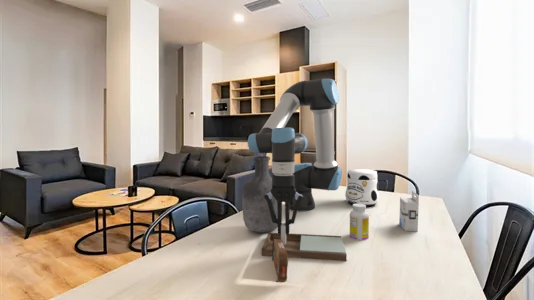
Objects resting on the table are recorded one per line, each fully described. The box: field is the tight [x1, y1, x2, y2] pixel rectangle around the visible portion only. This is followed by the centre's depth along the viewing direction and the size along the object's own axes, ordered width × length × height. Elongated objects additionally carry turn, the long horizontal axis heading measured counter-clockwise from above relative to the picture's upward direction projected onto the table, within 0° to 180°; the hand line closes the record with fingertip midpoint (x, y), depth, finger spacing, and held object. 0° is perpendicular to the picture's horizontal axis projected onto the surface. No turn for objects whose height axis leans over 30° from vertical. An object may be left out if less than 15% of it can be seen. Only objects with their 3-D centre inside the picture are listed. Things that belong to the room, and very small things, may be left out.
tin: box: [271, 239, 289, 282], centre depth 77 cm, size 15×3×8 cm, turn 5°
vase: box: [241, 155, 278, 234], centre depth 110 cm, size 16×16×30 cm
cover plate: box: [300, 235, 347, 254], centre depth 90 cm, size 12×14×2 cm
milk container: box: [344, 168, 380, 207], centre depth 149 cm, size 17×17×18 cm
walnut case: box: [260, 232, 348, 262], centre depth 91 cm, size 15×26×3 cm, turn 81°
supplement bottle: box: [349, 204, 370, 241], centre depth 101 cm, size 7×7×13 cm
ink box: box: [398, 190, 420, 232], centre depth 112 cm, size 9×5×15 cm, turn 168°
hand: (283, 243), depth 92 cm, fingers closed
